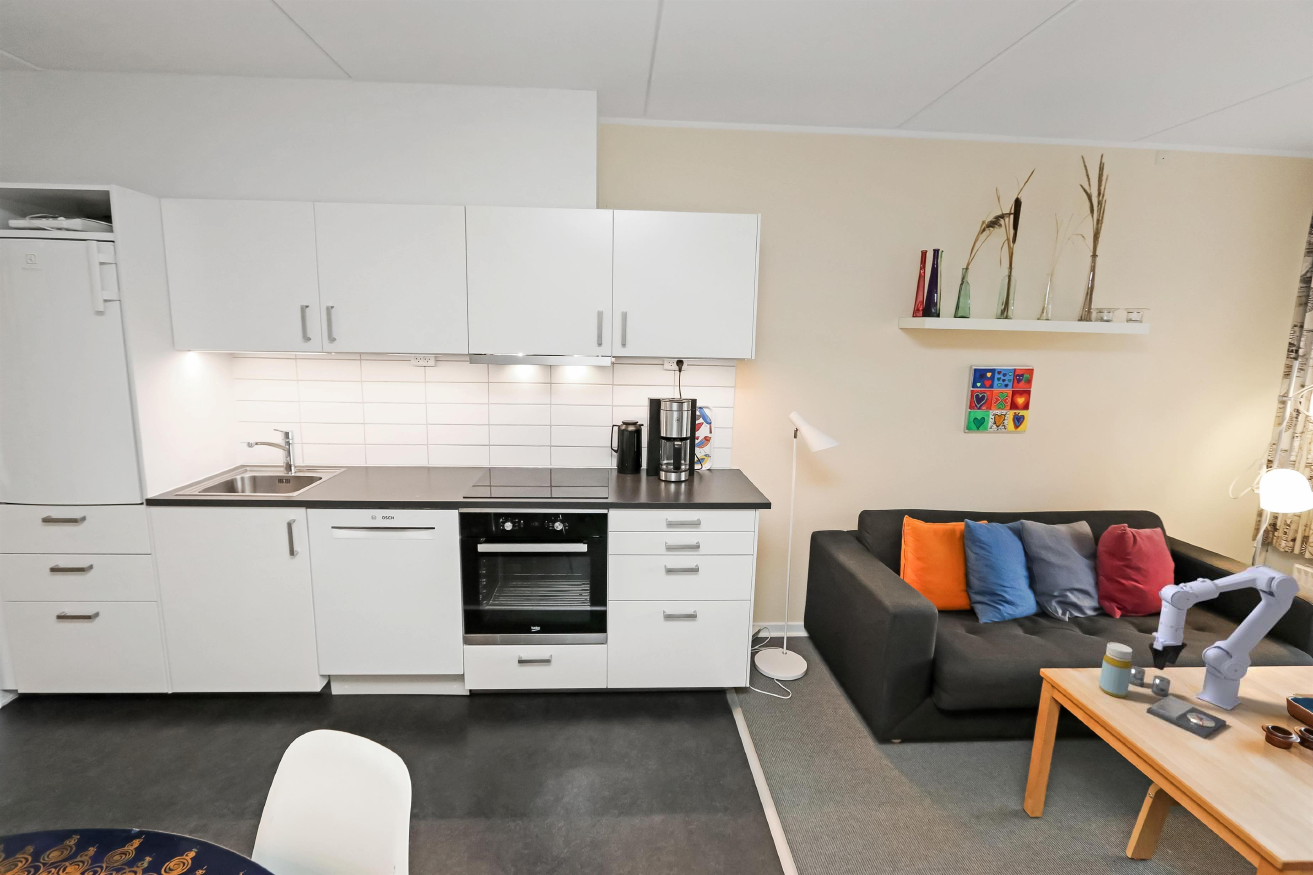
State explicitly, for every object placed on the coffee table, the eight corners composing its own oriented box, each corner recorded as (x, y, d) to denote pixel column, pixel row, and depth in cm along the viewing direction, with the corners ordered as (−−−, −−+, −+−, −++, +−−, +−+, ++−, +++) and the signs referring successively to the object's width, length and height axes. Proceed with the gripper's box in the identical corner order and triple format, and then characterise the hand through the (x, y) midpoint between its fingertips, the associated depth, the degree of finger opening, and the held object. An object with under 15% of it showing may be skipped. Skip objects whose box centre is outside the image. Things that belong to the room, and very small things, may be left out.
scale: (1168, 700, 184) (1169, 693, 184) (1225, 724, 172) (1227, 717, 172) (1146, 712, 177) (1147, 705, 177) (1204, 738, 166) (1206, 731, 165)
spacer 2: (1154, 688, 190) (1157, 674, 190) (1170, 695, 187) (1172, 680, 186) (1148, 691, 188) (1151, 677, 188) (1164, 698, 185) (1167, 683, 184)
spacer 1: (1130, 678, 196) (1133, 664, 195) (1145, 684, 192) (1147, 670, 192) (1124, 681, 194) (1127, 667, 193) (1139, 687, 191) (1141, 673, 190)
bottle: (1098, 683, 192) (1105, 639, 190) (1126, 691, 188) (1133, 646, 186) (1098, 692, 187) (1106, 647, 185) (1127, 701, 183) (1134, 655, 181)
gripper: (1166, 614, 191) (1159, 654, 193) (1144, 623, 184) (1137, 664, 186) (1194, 623, 185) (1187, 665, 187) (1173, 633, 178) (1165, 676, 180)
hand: (1164, 665), depth 186 cm, fingers open, 7 cm apart
